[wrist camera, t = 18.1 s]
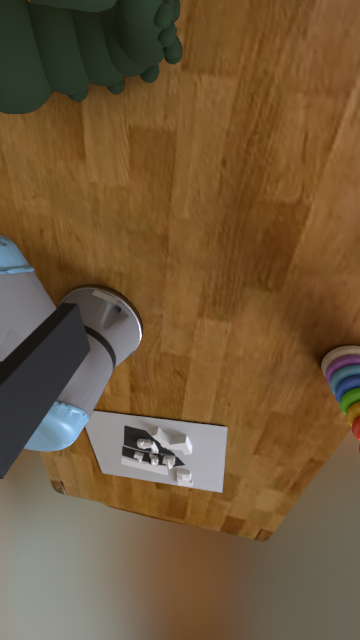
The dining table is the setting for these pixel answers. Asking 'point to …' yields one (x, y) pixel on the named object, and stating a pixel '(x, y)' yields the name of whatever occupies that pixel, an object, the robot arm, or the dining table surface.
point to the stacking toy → (345, 382)
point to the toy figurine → (81, 47)
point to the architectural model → (159, 449)
